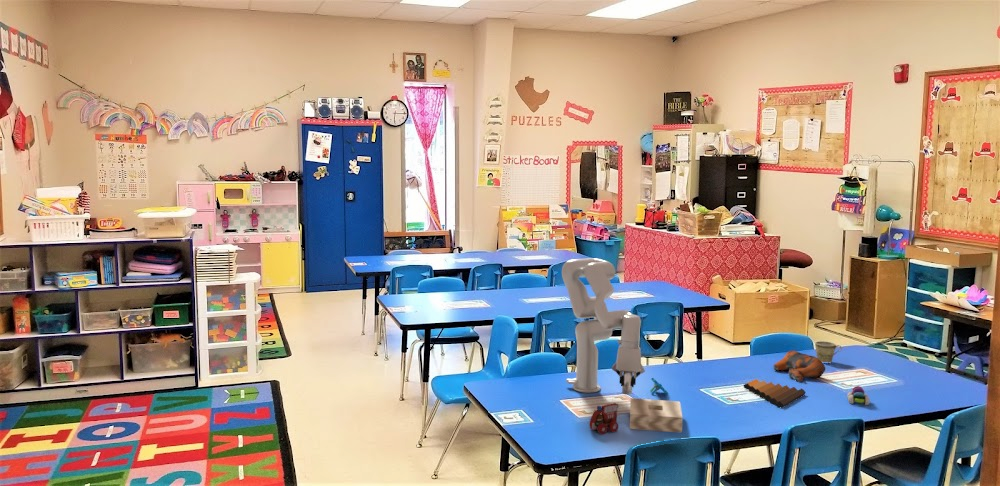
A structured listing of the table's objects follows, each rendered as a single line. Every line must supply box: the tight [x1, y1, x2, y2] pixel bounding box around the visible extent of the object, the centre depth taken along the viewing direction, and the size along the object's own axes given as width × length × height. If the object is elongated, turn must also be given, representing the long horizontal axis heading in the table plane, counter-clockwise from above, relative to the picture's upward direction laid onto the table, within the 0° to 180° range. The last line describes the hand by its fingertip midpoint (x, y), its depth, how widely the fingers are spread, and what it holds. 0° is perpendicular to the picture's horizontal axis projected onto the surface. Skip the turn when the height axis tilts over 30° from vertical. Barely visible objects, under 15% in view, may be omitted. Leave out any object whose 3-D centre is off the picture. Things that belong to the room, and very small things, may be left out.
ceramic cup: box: [814, 340, 842, 363], centre depth 404 cm, size 13×10×10 cm
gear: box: [650, 377, 669, 396], centre depth 346 cm, size 11×6×10 cm
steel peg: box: [621, 371, 633, 395], centre depth 326 cm, size 4×4×10 cm
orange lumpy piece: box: [772, 350, 826, 382], centre depth 381 cm, size 25×13×17 cm
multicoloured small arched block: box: [846, 385, 870, 406], centre depth 337 cm, size 8×10×7 cm
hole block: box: [629, 397, 683, 433], centre depth 309 cm, size 20×20×6 cm
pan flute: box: [743, 378, 806, 409], centre depth 346 cm, size 25×3×25 cm
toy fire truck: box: [588, 402, 619, 435], centre depth 299 cm, size 7×12×10 cm, turn 117°
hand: (627, 385), depth 327 cm, fingers closed on steel peg, 4 cm apart
